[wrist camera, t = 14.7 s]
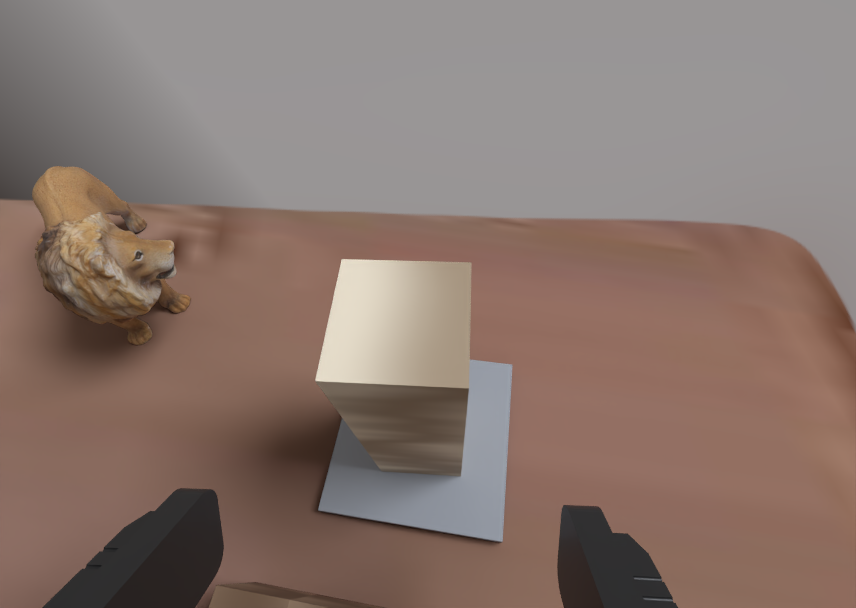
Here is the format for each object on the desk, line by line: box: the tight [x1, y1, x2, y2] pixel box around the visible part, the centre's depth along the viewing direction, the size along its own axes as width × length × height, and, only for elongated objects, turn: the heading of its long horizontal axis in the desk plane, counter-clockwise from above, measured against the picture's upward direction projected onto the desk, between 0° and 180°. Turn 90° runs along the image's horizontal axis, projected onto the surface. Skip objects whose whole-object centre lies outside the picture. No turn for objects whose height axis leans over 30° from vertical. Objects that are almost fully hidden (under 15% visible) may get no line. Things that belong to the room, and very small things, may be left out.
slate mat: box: [318, 360, 512, 542], centre depth 20 cm, size 8×8×1 cm
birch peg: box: [315, 259, 471, 476], centre depth 15 cm, size 4×4×11 cm
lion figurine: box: [32, 166, 191, 345], centre depth 23 cm, size 15×5×9 cm, turn 46°
